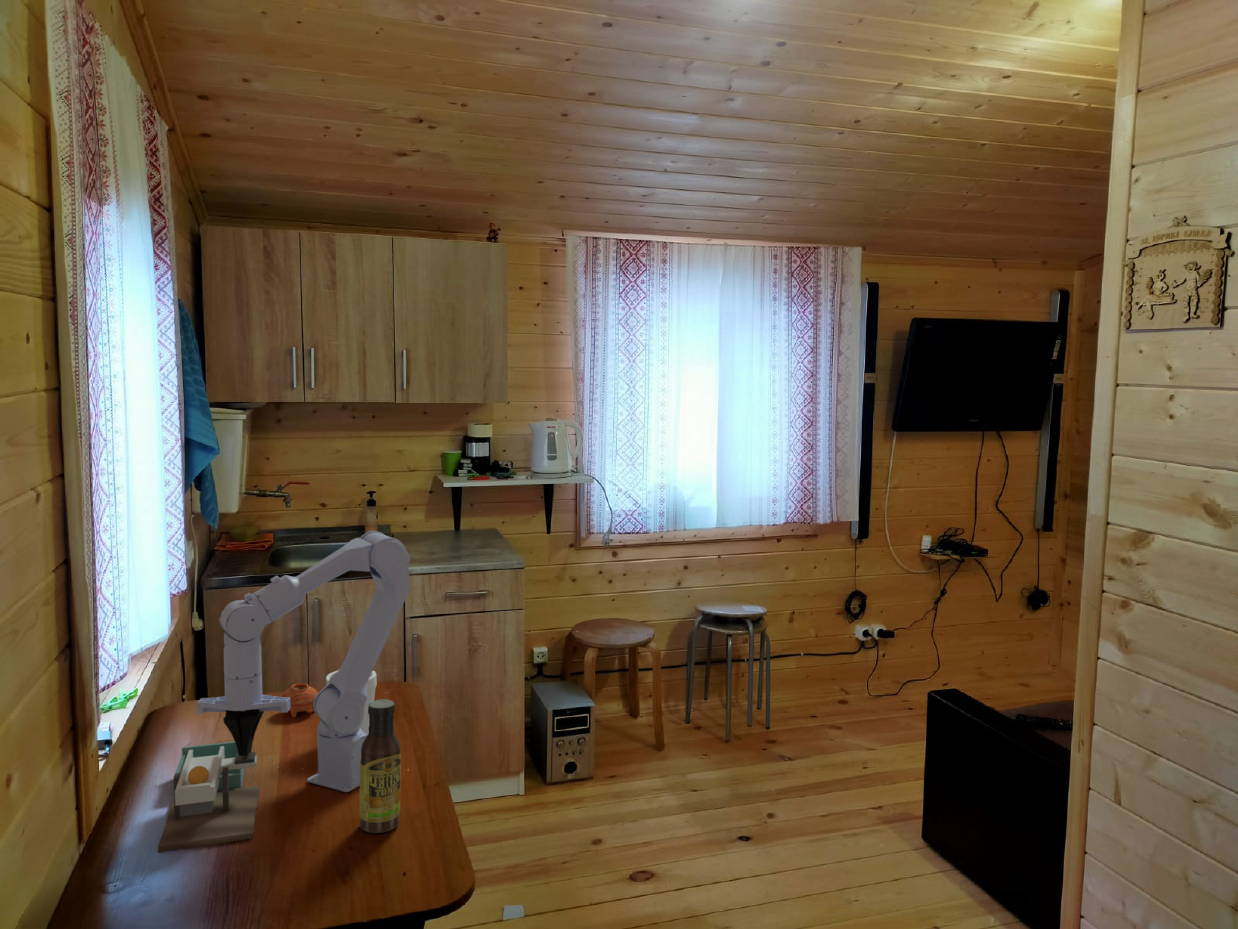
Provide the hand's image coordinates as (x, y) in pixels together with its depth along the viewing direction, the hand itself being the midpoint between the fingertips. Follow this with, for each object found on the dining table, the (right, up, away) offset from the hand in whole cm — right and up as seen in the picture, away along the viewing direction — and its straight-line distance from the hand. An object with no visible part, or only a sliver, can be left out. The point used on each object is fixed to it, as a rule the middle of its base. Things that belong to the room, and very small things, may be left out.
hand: (245, 753), depth 148 cm
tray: (-2, -4, -5) cm, 7 cm away
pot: (-5, -5, +40) cm, 41 cm away
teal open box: (-9, -7, +7) cm, 14 cm away
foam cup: (+10, -6, +26) cm, 29 cm away
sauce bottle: (+25, -9, -7) cm, 27 cm away
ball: (-3, 0, -10) cm, 10 cm away
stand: (-3, -9, -6) cm, 11 cm away
